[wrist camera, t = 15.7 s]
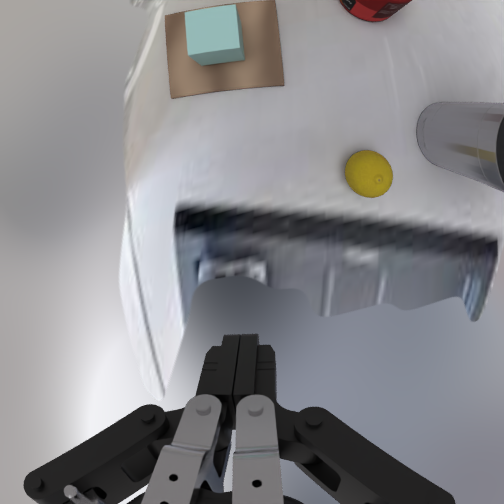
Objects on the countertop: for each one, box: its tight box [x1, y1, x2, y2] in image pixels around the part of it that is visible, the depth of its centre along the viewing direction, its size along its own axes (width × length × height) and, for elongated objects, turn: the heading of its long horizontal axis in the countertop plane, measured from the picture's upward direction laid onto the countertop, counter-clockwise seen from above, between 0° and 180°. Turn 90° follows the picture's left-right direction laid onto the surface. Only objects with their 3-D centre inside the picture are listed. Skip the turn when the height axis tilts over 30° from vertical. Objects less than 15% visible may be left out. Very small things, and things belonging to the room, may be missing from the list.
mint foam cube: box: [185, 4, 245, 66], centre depth 28 cm, size 5×5×7 cm
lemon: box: [345, 150, 393, 198], centre depth 34 cm, size 6×6×8 cm
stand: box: [165, 0, 284, 99], centre depth 29 cm, size 14×12×8 cm
